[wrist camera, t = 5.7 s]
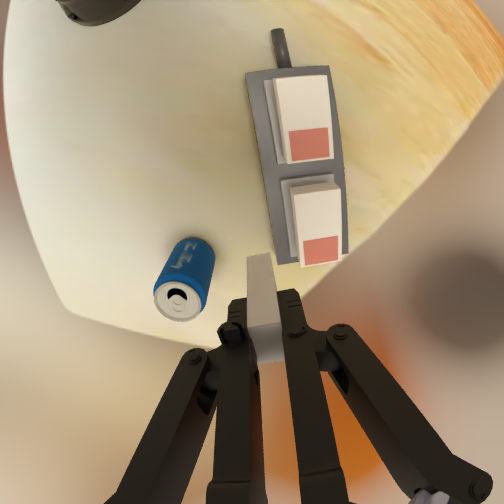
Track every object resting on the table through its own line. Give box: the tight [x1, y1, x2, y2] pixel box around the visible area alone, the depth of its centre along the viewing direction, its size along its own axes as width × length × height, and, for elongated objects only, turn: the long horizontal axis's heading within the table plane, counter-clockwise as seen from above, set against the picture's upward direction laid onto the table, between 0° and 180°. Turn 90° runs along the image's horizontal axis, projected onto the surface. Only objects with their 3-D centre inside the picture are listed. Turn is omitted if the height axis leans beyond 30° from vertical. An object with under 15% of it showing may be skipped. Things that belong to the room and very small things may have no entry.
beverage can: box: [153, 238, 215, 322], centre depth 36 cm, size 6×6×12 cm
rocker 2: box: [290, 182, 342, 268], centre depth 30 cm, size 9×5×3 cm, turn 10°
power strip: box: [245, 28, 348, 265], centre depth 31 cm, size 31×10×5 cm, turn 10°
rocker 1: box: [272, 75, 334, 164], centre depth 25 cm, size 9×5×2 cm, turn 10°
